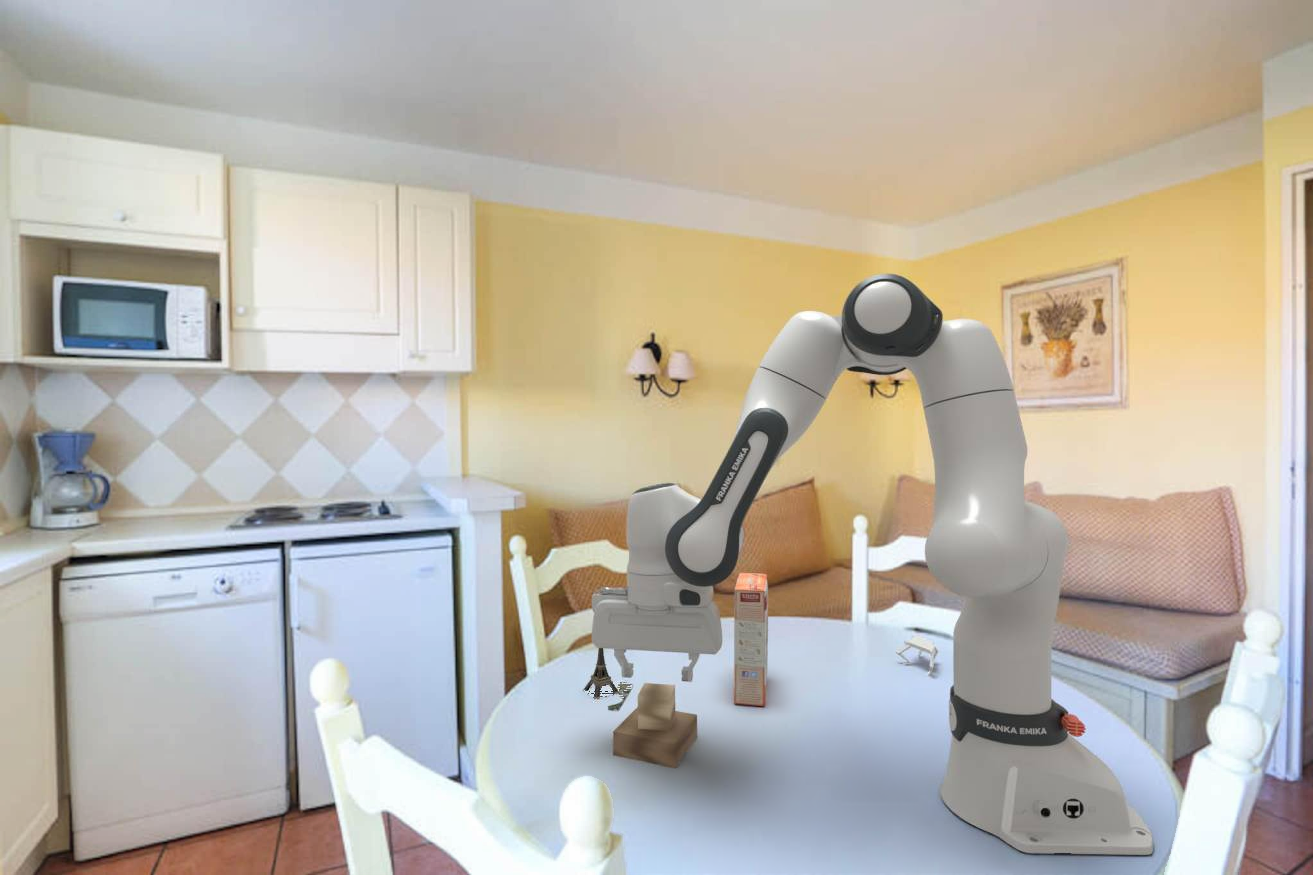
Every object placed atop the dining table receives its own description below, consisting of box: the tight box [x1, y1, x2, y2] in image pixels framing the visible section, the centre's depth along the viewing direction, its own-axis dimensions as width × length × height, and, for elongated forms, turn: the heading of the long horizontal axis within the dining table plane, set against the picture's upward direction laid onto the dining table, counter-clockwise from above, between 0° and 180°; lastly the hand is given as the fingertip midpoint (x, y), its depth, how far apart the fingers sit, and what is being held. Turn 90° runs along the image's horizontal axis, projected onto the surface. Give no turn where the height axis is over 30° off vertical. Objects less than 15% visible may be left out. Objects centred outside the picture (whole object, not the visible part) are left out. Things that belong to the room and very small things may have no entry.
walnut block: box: [612, 706, 698, 769], centre depth 96 cm, size 10×10×4 cm
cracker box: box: [733, 572, 769, 707], centre depth 117 cm, size 14×6×21 cm, turn 168°
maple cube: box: [637, 682, 676, 731], centre depth 96 cm, size 5×5×5 cm
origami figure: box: [895, 635, 939, 677], centre depth 128 cm, size 12×8×5 cm
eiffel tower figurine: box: [582, 648, 633, 712], centre depth 117 cm, size 15×10×13 cm
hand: (657, 678), depth 96 cm, fingers open, 8 cm apart
